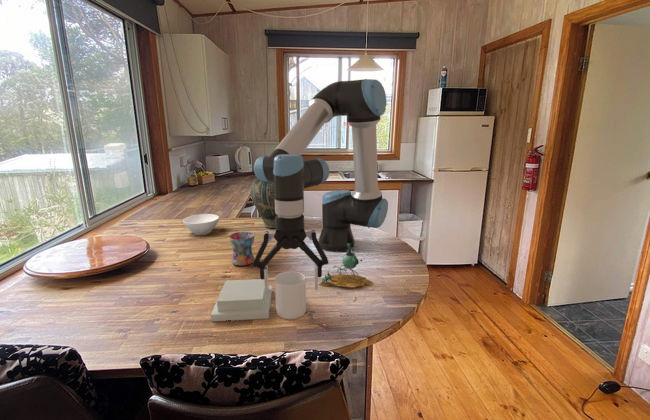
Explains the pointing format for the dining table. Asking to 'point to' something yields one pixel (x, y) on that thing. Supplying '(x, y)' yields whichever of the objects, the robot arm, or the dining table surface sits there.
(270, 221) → the vase
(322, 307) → the dining table surface
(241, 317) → the plinth
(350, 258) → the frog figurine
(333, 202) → the robot arm
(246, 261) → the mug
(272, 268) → the dining table surface
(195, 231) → the bowl
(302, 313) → the mug
